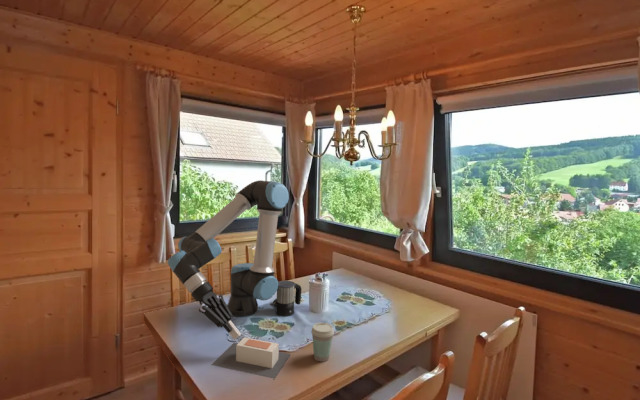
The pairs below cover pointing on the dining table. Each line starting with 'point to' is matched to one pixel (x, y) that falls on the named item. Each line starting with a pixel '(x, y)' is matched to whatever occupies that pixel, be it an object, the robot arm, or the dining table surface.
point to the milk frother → (287, 298)
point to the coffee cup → (322, 341)
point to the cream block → (257, 352)
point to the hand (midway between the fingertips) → (237, 336)
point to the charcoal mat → (230, 362)
